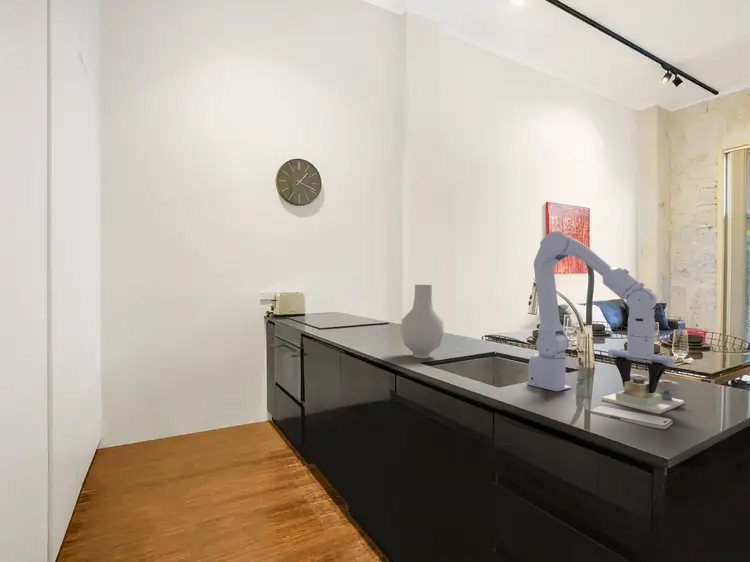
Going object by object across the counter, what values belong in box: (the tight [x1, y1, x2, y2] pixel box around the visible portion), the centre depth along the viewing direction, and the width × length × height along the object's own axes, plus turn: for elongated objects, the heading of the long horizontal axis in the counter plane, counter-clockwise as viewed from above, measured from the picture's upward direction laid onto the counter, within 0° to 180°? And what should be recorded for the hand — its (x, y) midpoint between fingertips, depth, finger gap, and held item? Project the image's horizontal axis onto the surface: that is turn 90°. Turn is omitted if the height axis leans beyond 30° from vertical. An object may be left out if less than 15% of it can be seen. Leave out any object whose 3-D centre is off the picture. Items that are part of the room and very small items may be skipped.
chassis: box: [601, 373, 685, 415], centre depth 107 cm, size 13×16×6 cm
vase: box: [400, 284, 445, 359], centre depth 163 cm, size 17×16×28 cm
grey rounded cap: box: [656, 379, 680, 393], centre depth 108 cm, size 5×5×3 cm
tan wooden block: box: [623, 378, 652, 398], centre depth 106 cm, size 4×6×5 cm, turn 127°
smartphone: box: [589, 405, 674, 430], centre depth 94 cm, size 7×1×15 cm
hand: (639, 389), depth 106 cm, fingers open, 5 cm apart
